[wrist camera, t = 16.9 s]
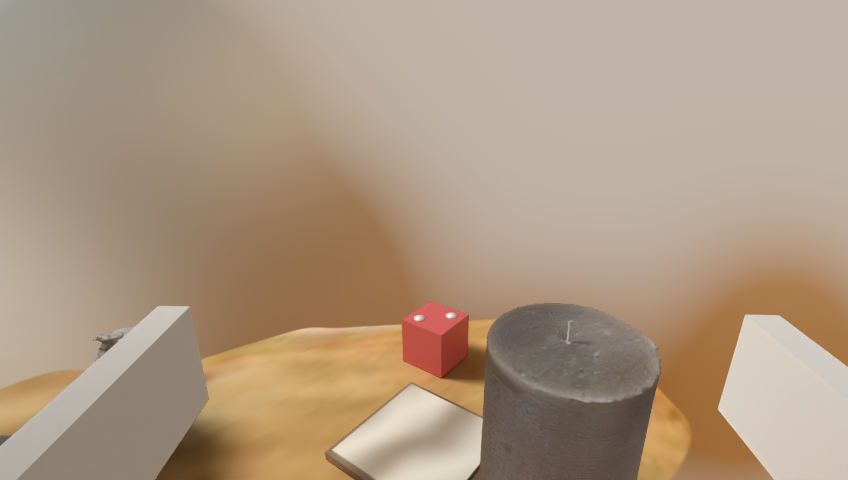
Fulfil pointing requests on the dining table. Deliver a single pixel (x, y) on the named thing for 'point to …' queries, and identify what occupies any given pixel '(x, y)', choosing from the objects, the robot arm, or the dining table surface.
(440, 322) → the red die
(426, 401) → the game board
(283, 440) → the dining table surface
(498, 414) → the pillar candle
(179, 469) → the dining table surface
